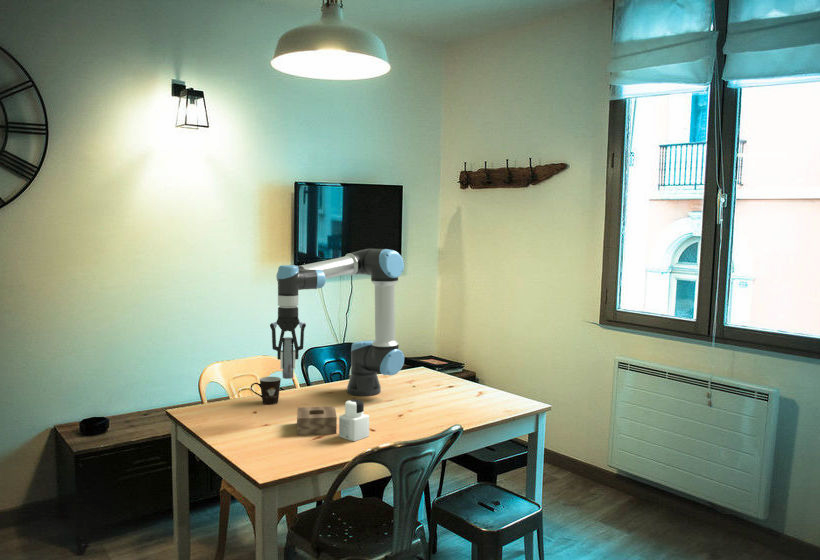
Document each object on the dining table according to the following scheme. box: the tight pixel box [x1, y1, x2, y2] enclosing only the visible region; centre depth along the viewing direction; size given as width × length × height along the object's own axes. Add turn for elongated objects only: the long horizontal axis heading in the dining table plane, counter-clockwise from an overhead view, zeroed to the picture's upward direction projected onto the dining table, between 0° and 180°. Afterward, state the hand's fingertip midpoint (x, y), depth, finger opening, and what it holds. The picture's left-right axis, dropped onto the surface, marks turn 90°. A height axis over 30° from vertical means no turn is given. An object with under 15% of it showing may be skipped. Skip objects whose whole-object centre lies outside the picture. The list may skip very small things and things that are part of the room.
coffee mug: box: [250, 376, 282, 406], centre depth 267 cm, size 12×9×10 cm
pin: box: [282, 336, 294, 380], centre depth 241 cm, size 4×4×15 cm
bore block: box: [296, 405, 338, 436], centre depth 234 cm, size 14×14×6 cm
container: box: [338, 398, 370, 442], centre depth 226 cm, size 8×8×13 cm
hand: (288, 367), depth 241 cm, fingers closed on pin, 4 cm apart
